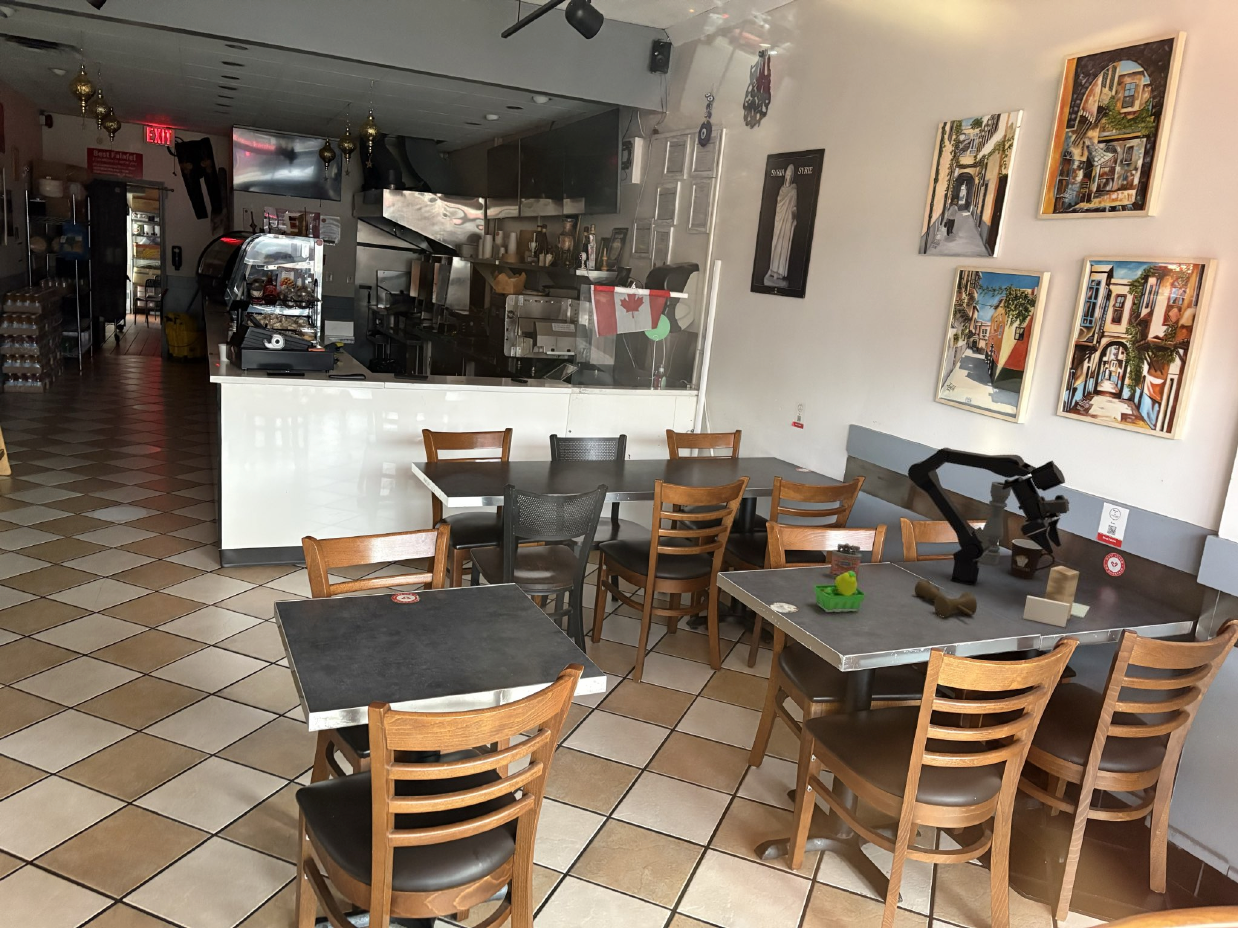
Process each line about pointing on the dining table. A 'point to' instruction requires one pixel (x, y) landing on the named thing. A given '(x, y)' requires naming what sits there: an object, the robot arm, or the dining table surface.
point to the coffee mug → (1026, 558)
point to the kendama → (946, 600)
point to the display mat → (1079, 610)
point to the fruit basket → (840, 593)
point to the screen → (1046, 611)
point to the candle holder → (995, 522)
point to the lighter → (845, 560)
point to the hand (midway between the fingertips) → (1055, 549)
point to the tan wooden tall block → (1062, 586)
